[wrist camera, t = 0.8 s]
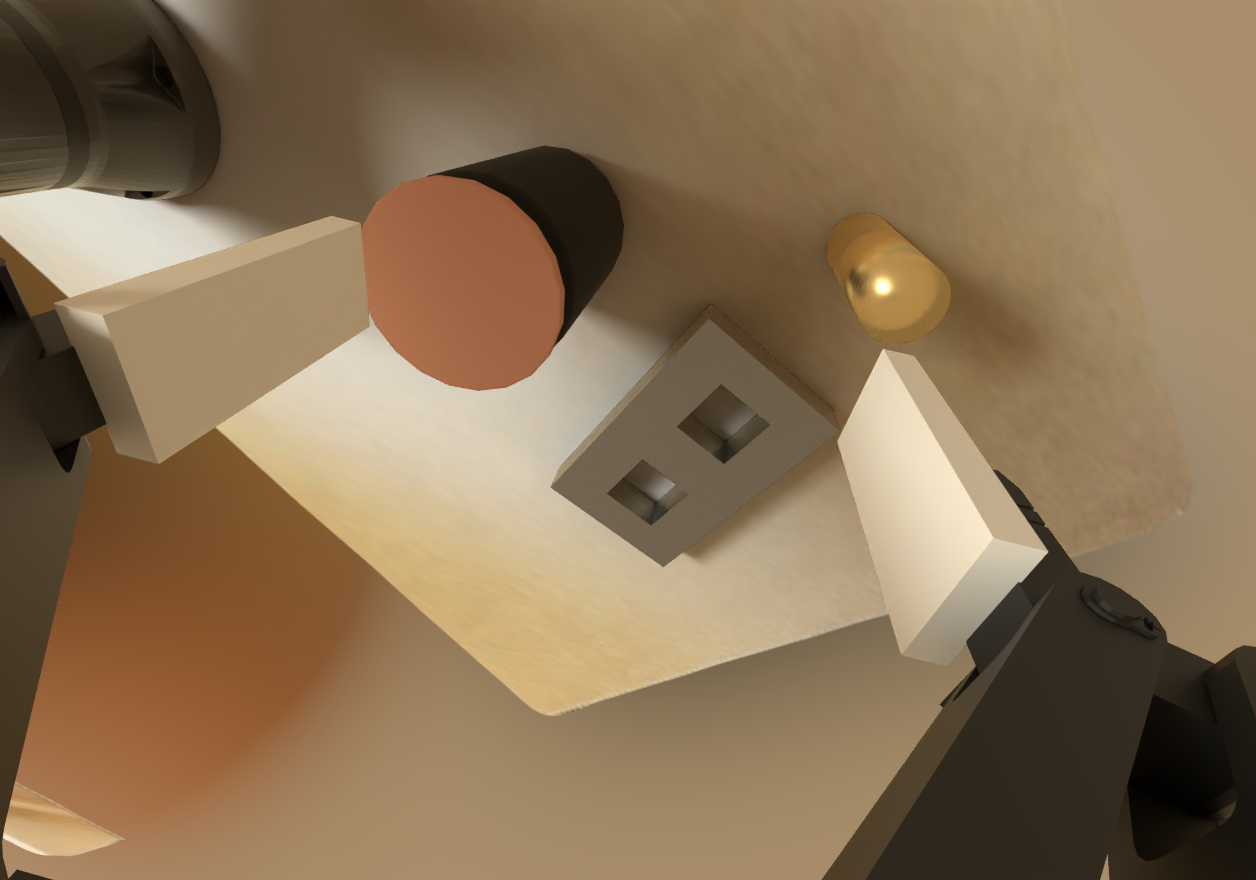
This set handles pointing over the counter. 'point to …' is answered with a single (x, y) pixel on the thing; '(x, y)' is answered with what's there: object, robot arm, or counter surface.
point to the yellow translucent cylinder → (887, 279)
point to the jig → (694, 440)
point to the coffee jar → (490, 263)
